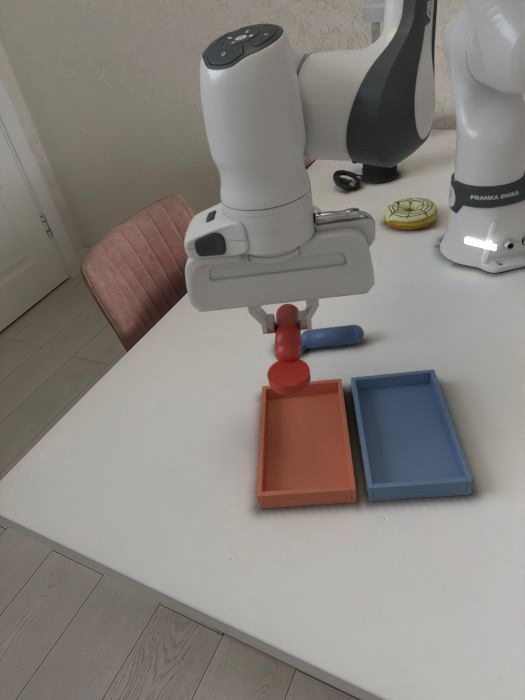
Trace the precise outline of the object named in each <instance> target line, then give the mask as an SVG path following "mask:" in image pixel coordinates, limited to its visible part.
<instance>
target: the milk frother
mask: <svg viewBox="0 0 525 700" xmlns="http://www.w3.org/2000/svg"><path fill="white" fill-rule="evenodd" d="M351 163H352V164H354V165H355V164H357V163H356V162H354V161H351ZM342 176H343V177H342ZM344 176H345V177H344ZM398 176H399V172H398V164H397V165H395V166H394V167H391V168H388V167H381V166H375V165H368V164H362V168H361V174H358V173H356V172H353V171H349V170H345V169H339V170H336V171H334V173H333V175H332V181H333V183H334V184H335V185H336V187H338V188H340V189H342V190H344V191H350V190H356V189H358V188H359V187H360V186H361V180H362V181H364V182H365V183H370V184H382V183H388V182H391V181H393V180H395V179H396V178H398ZM347 177H349V178H350V179H348V178H347ZM359 177H360V178H361V179H360V178H359ZM352 180H353V181H354V184H353V183H352Z"/></svg>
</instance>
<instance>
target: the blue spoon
mask: <svg viewBox="0 0 525 700" xmlns="http://www.w3.org/2000/svg"><path fill="white" fill-rule="evenodd" d="M364 336H365V331H364V329H363V327H361V325H359V324H349V325H348V324H347V325H339V326H330V327H329V326H328V327H322V328H312V329H309V330H303V332H301V355H303V354H304V353H305V352H306V350H307V349H319V348H328V347H329V348H331V347H338V346H348V345H356V344H357V345H358V344H359V343H361V342H362V341H363V339H364Z"/></svg>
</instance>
